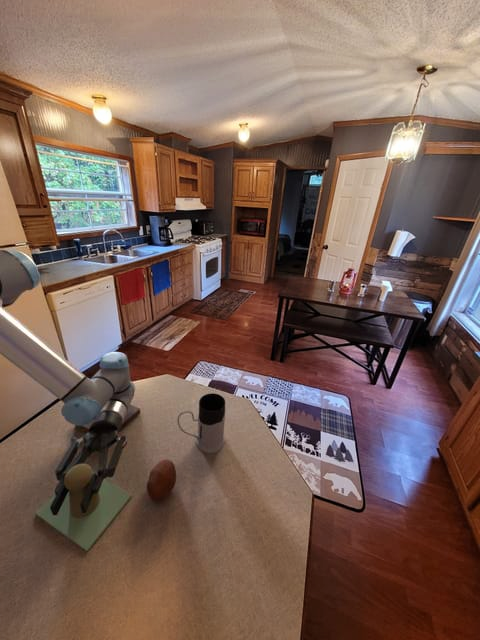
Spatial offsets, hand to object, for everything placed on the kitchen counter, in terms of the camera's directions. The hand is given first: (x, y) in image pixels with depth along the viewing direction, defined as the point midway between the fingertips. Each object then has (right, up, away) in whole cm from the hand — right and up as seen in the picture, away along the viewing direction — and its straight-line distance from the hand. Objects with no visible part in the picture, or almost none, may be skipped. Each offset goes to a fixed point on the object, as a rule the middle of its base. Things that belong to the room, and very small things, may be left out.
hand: (68, 509), depth 51 cm
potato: (+15, -4, +13) cm, 20 cm away
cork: (-1, -4, +8) cm, 9 cm away
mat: (-1, -5, +8) cm, 9 cm away
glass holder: (+23, +1, +26) cm, 35 cm away
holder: (-8, +6, +31) cm, 33 cm away
